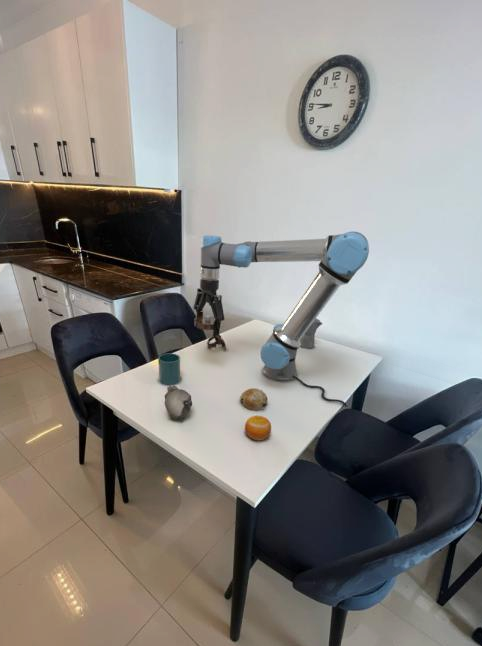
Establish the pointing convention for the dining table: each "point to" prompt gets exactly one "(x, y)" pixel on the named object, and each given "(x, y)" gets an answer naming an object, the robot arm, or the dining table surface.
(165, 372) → the canister
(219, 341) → the brown strappy sandal
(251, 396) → the brown oval lump
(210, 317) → the lid
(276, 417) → the dining table surface
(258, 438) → the fruit
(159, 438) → the dining table surface
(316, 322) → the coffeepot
